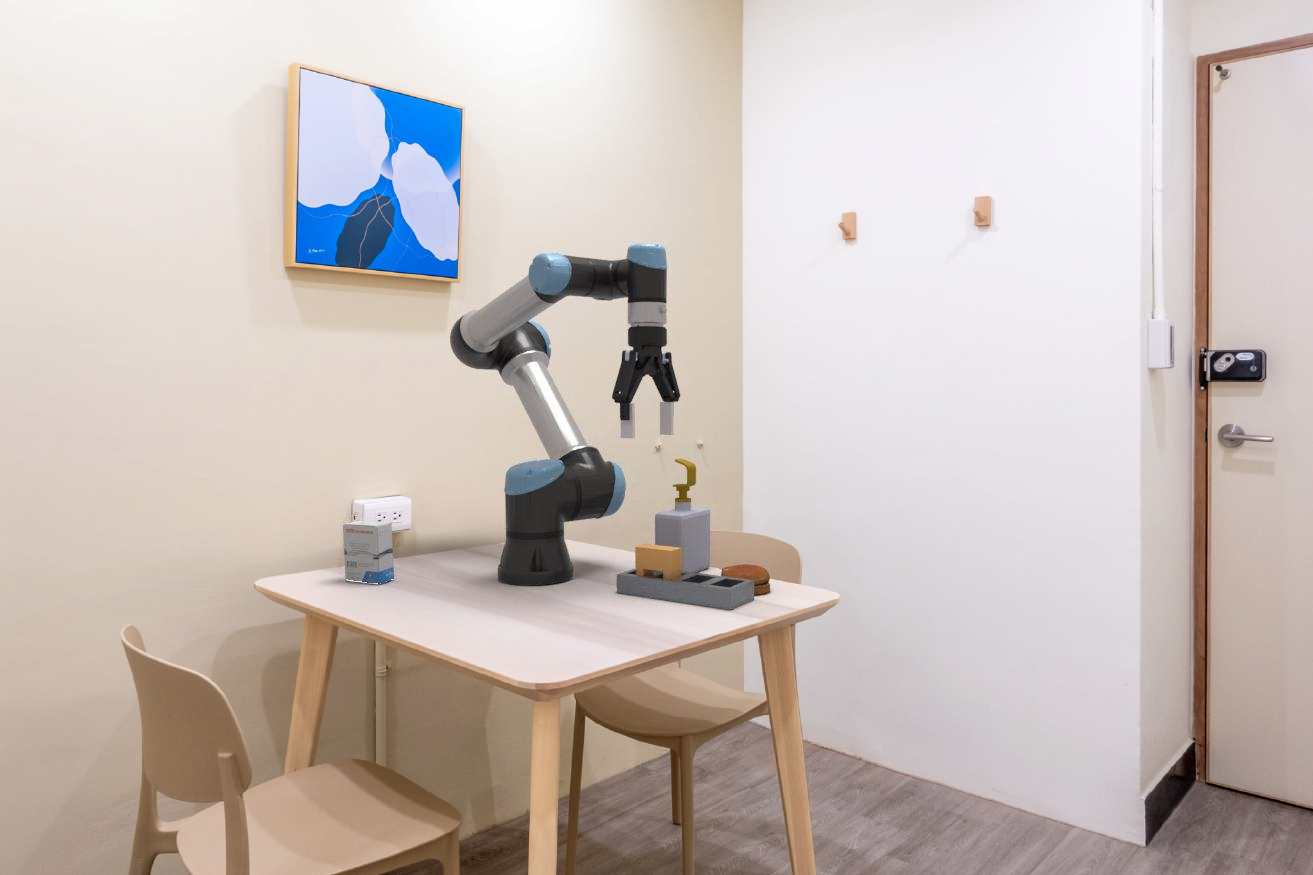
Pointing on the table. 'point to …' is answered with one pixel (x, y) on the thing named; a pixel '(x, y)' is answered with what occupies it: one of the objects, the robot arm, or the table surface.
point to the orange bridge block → (658, 560)
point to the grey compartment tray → (688, 588)
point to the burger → (750, 576)
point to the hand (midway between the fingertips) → (647, 436)
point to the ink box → (368, 551)
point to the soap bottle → (686, 526)
